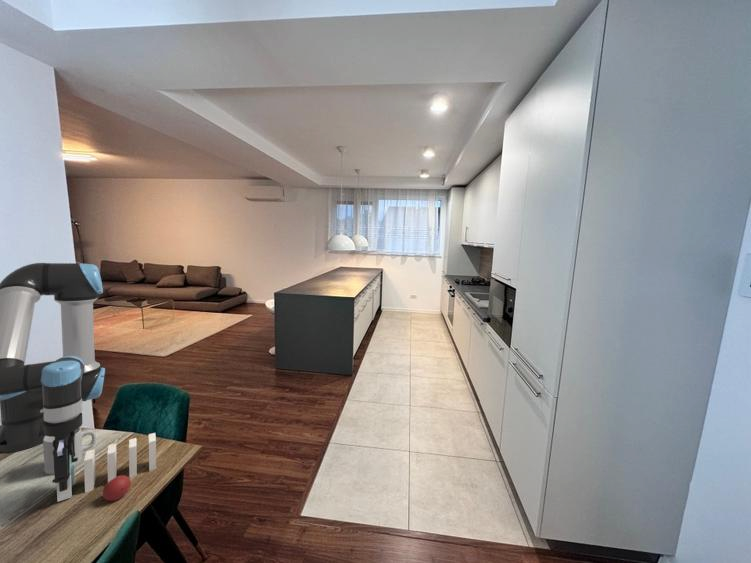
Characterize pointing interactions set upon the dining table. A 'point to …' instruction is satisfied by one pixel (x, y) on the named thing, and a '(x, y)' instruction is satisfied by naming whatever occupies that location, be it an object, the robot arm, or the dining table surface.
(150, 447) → the domino
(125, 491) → the fruit
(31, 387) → the robot arm
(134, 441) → the domino
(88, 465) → the domino
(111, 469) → the domino
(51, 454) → the mug
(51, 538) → the dining table surface
